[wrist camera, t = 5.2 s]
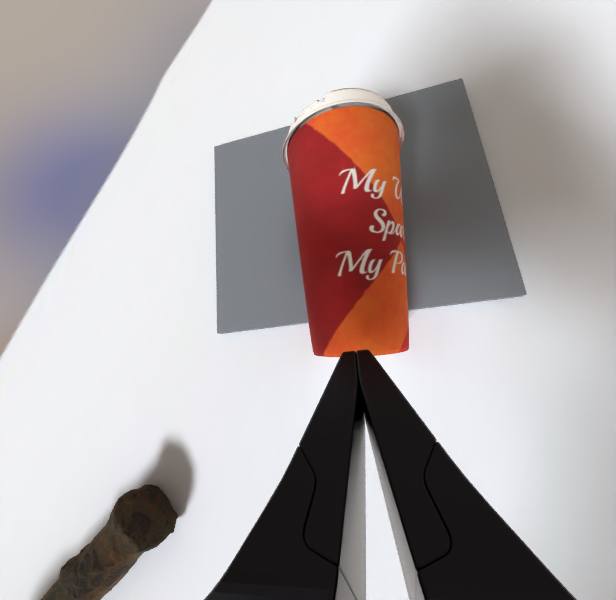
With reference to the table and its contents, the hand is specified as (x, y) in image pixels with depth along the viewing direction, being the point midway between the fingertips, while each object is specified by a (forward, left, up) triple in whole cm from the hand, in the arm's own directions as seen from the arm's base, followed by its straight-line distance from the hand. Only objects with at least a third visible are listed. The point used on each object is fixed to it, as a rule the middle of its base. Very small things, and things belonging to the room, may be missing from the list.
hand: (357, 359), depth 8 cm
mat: (+10, -6, -10) cm, 16 cm away
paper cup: (0, 0, -7) cm, 7 cm away
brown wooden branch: (-2, +27, -11) cm, 29 cm away
